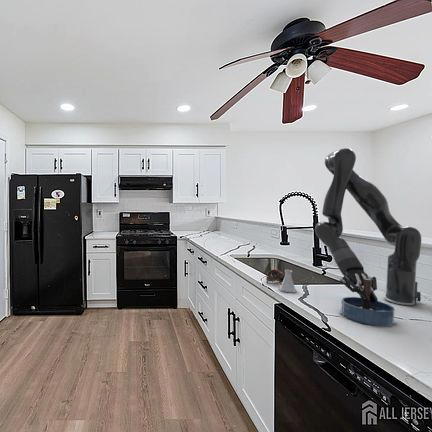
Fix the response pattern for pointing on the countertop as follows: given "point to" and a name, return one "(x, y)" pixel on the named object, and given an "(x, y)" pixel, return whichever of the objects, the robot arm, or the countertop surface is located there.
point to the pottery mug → (275, 276)
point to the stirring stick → (368, 291)
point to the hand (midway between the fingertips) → (371, 301)
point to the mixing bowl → (367, 312)
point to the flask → (288, 282)
